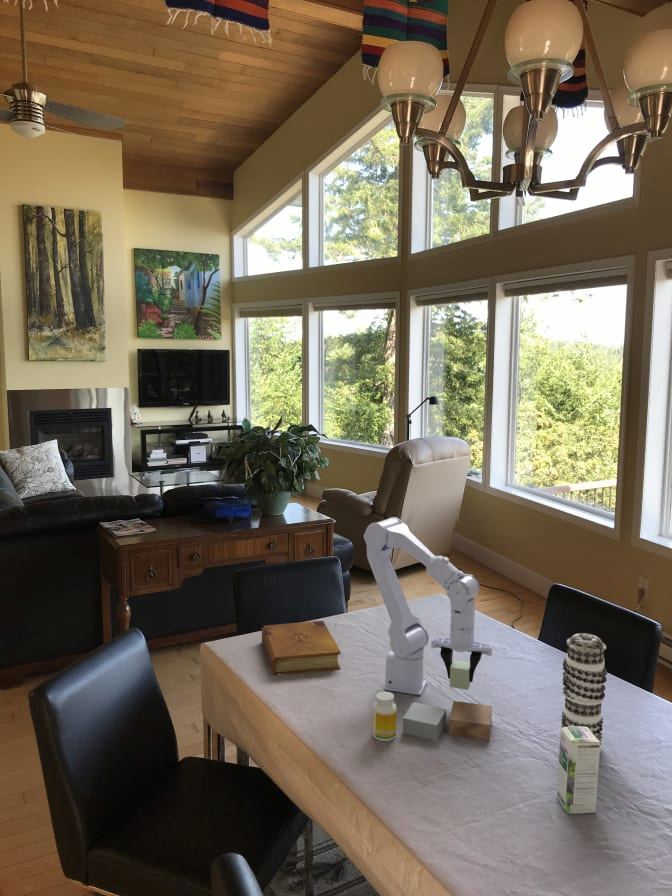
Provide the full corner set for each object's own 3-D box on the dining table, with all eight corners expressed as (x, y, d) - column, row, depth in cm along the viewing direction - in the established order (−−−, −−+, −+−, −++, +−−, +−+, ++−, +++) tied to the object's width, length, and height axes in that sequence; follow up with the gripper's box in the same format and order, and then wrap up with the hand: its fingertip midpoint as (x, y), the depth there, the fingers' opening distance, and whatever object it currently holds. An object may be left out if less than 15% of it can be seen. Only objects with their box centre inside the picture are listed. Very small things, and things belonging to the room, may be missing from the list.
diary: (261, 644, 211) (261, 625, 210) (322, 638, 215) (322, 620, 214) (272, 677, 188) (272, 656, 188) (340, 670, 193) (340, 650, 192)
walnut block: (449, 736, 159) (449, 719, 159) (452, 716, 168) (453, 700, 168) (489, 741, 157) (490, 724, 157) (491, 721, 166) (492, 705, 165)
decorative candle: (550, 743, 156) (555, 635, 153) (574, 730, 161) (580, 626, 158) (586, 762, 149) (592, 649, 145) (611, 748, 154) (617, 639, 151)
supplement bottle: (368, 732, 160) (368, 692, 159) (388, 727, 162) (389, 688, 161) (379, 744, 155) (380, 703, 154) (400, 738, 158) (401, 698, 156)
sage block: (449, 686, 171) (450, 667, 171) (452, 678, 175) (453, 659, 175) (468, 689, 170) (468, 670, 169) (470, 681, 174) (471, 662, 173)
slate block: (402, 734, 160) (402, 717, 159) (413, 718, 167) (413, 702, 167) (436, 742, 157) (437, 725, 156) (446, 725, 164) (446, 709, 164)
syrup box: (555, 796, 137) (558, 726, 135) (584, 794, 138) (588, 725, 136) (567, 815, 132) (570, 742, 130) (597, 813, 132) (601, 741, 130)
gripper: (429, 627, 169) (428, 681, 171) (490, 635, 165) (488, 690, 166) (434, 617, 176) (433, 669, 178) (494, 624, 171) (491, 677, 173)
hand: (460, 678), depth 172 cm, fingers closed on sage block, 4 cm apart
